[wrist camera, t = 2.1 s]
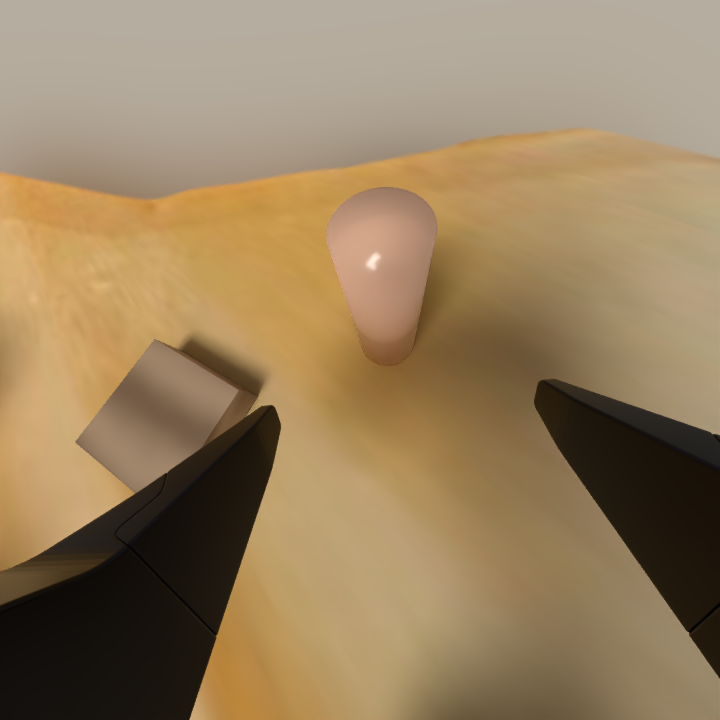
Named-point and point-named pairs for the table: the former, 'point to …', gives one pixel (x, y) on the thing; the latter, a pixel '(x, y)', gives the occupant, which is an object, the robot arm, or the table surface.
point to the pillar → (383, 266)
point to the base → (162, 415)
